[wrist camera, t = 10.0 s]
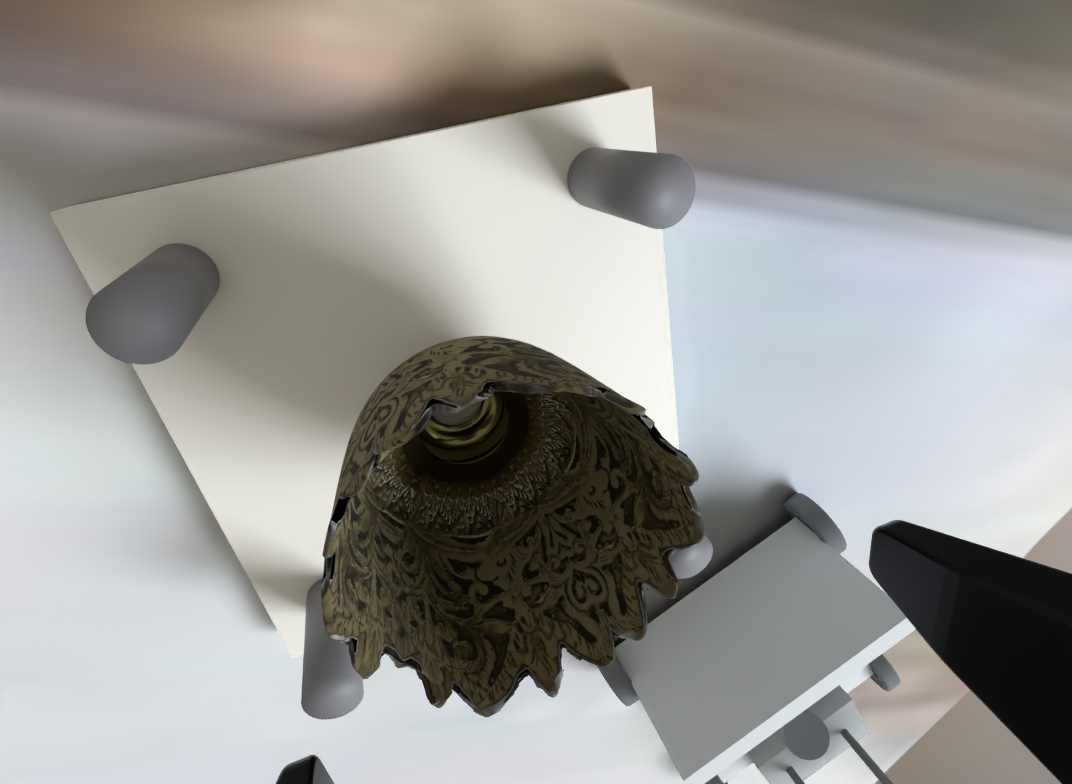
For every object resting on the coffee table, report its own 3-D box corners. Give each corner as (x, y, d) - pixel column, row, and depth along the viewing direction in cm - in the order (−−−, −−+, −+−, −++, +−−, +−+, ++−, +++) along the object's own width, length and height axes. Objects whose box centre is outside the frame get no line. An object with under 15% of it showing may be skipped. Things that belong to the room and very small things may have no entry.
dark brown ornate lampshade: (267, 406, 16) (217, 613, 9) (460, 223, 16) (557, 298, 9) (449, 540, 20) (510, 761, 13) (610, 394, 20) (761, 541, 13)
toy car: (1042, 843, 27) (839, 994, 27) (871, 670, 36) (716, 784, 35) (1005, 649, 18) (699, 875, 18) (788, 480, 27) (579, 631, 26)
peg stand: (631, 88, 17) (740, 76, 13) (668, 495, 24) (747, 581, 20) (69, 206, 14) (-52, 244, 10) (294, 632, 21) (285, 770, 17)
